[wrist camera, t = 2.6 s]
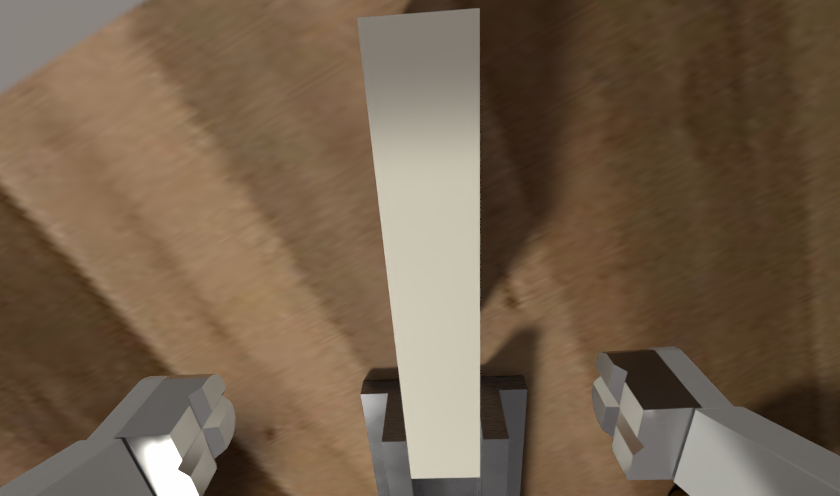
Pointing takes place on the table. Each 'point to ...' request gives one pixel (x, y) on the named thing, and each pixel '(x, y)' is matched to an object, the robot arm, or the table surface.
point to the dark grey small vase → (679, 492)
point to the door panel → (430, 223)
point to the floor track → (498, 441)
